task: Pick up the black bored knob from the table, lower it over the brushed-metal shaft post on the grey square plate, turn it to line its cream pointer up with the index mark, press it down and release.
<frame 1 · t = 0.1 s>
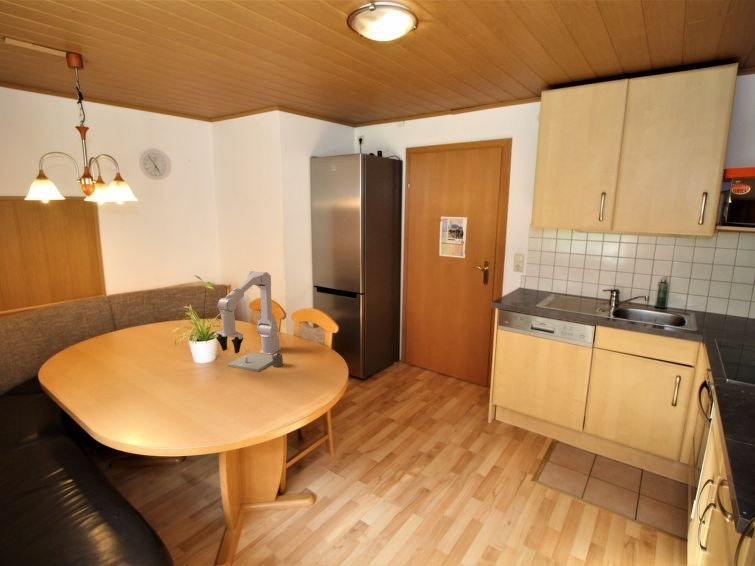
hand: (231, 351, 196), 10 cm above the table, fingers open, 7 cm apart
grey square plate: (253, 363, 208), on the table
knob: (277, 365, 205), on the table
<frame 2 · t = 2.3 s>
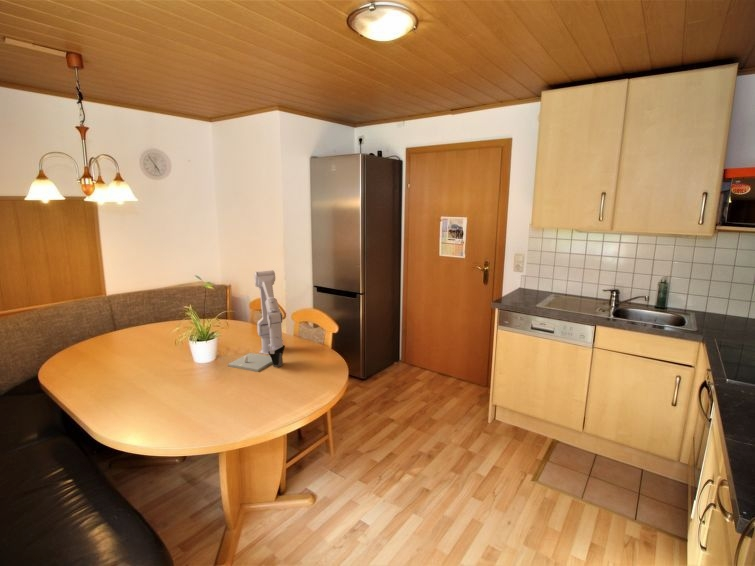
hand: (277, 362, 204), 1 cm above the table, fingers closed on knob, 5 cm apart
knob: (277, 365, 205), on the table, touching gripper
when the fingers open (3 cm above the table, at t = 6.7 s): knob stays where it is, resting on grey square plate.
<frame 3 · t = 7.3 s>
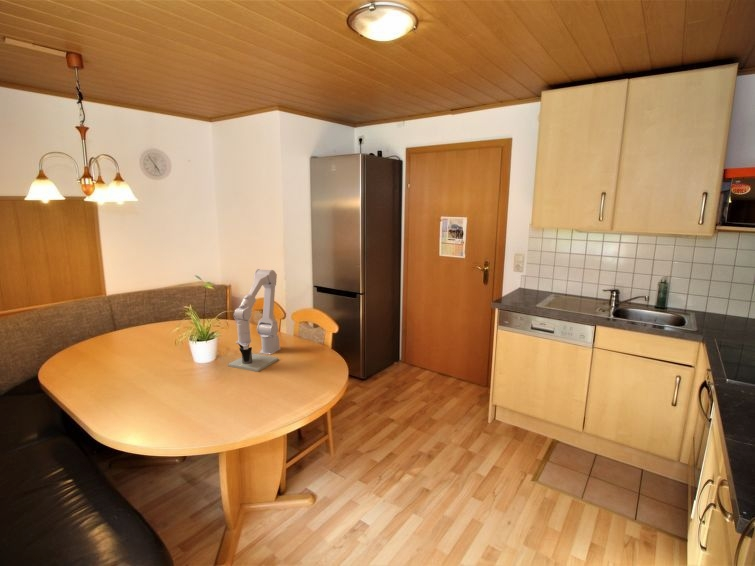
hand: (245, 358, 205), 3 cm above the table, fingers open, 7 cm apart
knob: (247, 362, 206), point 1 cm above the table, touching grey square plate
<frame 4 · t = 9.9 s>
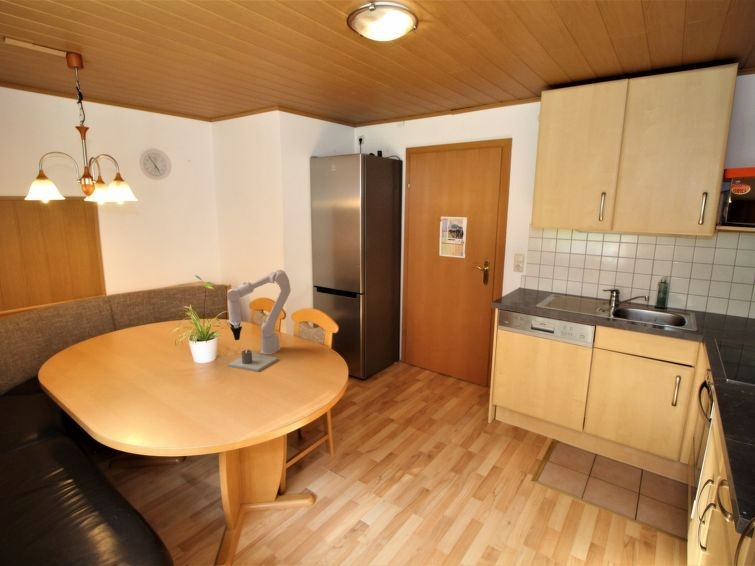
hand: (236, 337, 217), 9 cm above the table, fingers open, 7 cm apart
nothing on the table moved.
at the end: knob 0.6 cm from the target spot on the grey square plate, point 1.2 cm above the grey square plate's base; knob tilted 0°; the gripper is holding nothing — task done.
